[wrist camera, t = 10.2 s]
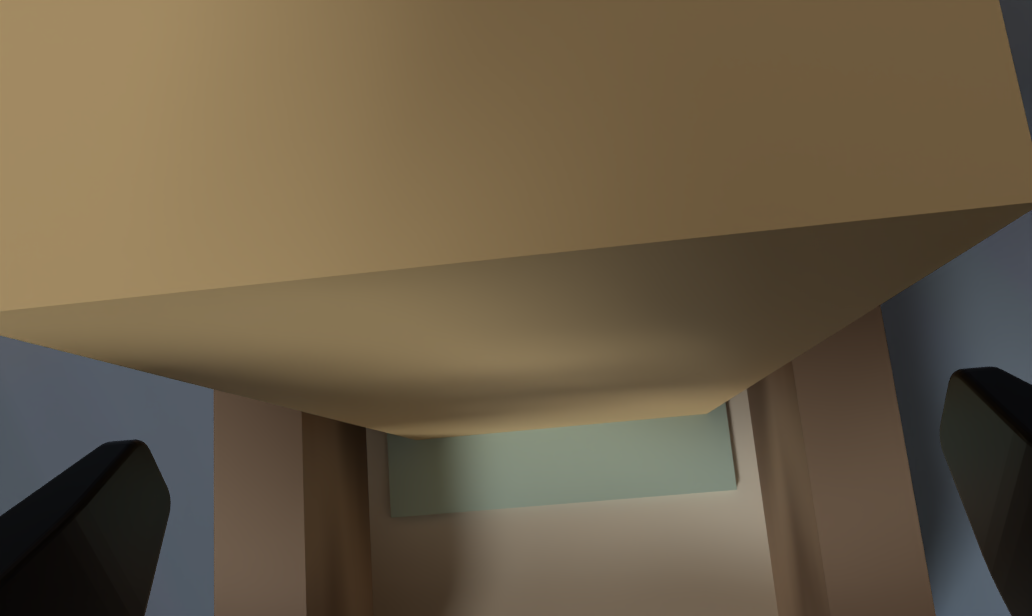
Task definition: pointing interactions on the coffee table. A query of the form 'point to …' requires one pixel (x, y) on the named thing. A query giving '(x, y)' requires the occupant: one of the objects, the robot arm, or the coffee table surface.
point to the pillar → (490, 193)
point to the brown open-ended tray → (584, 508)
